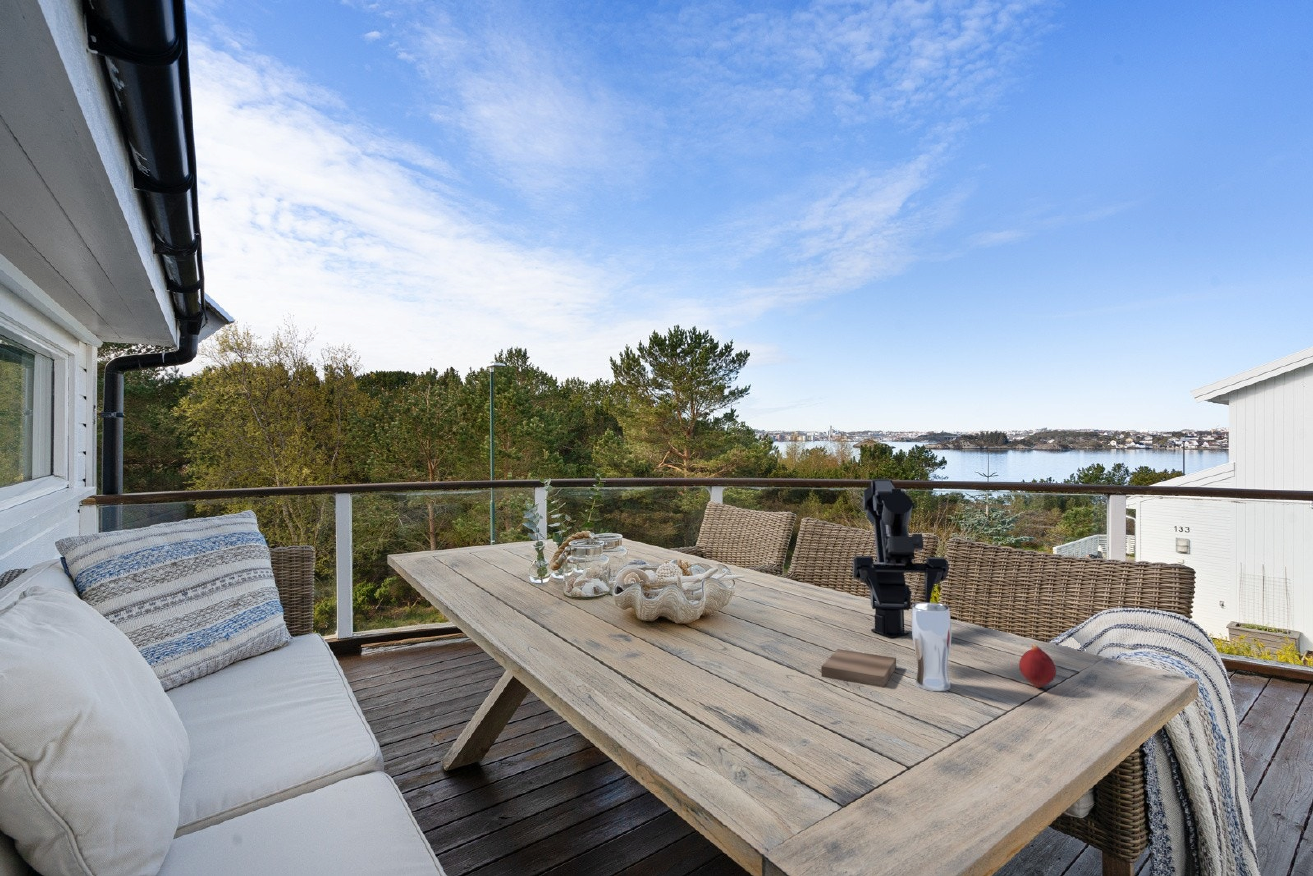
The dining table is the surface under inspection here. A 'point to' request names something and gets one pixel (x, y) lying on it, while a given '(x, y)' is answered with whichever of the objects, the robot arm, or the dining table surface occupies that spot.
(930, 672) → the beer glass
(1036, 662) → the onion
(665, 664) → the dining table surface
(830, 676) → the walnut board
